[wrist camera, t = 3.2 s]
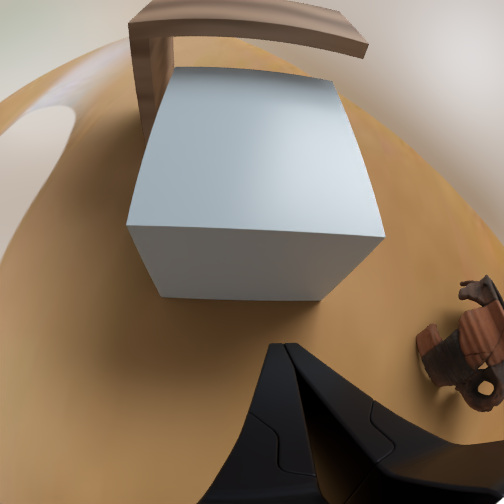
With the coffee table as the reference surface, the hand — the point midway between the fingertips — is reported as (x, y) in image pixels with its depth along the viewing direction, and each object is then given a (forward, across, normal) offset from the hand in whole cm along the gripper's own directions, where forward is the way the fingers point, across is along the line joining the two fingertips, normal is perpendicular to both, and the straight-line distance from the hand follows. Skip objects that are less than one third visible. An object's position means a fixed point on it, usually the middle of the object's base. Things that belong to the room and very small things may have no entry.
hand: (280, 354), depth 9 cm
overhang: (+25, 0, -8) cm, 26 cm away
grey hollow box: (+17, 0, 0) cm, 17 cm away
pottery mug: (+9, -19, +9) cm, 23 cm away
